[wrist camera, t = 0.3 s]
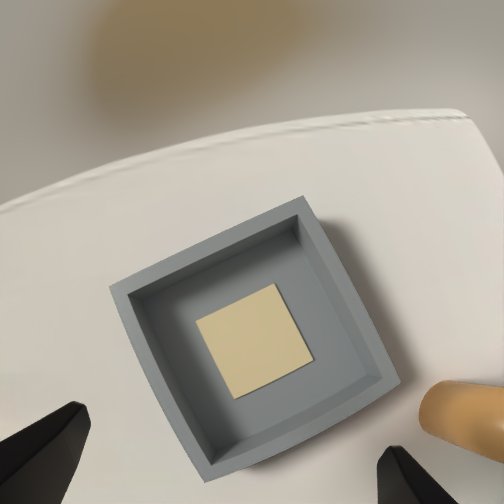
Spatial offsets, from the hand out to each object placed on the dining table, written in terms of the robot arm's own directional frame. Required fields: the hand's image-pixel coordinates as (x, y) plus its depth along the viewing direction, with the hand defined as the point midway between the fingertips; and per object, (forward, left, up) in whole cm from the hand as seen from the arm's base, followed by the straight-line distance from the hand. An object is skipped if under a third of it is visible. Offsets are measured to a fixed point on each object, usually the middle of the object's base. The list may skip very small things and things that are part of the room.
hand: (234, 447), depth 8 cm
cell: (-11, -13, -15) cm, 22 cm away
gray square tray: (+2, -2, -15) cm, 15 cm away
